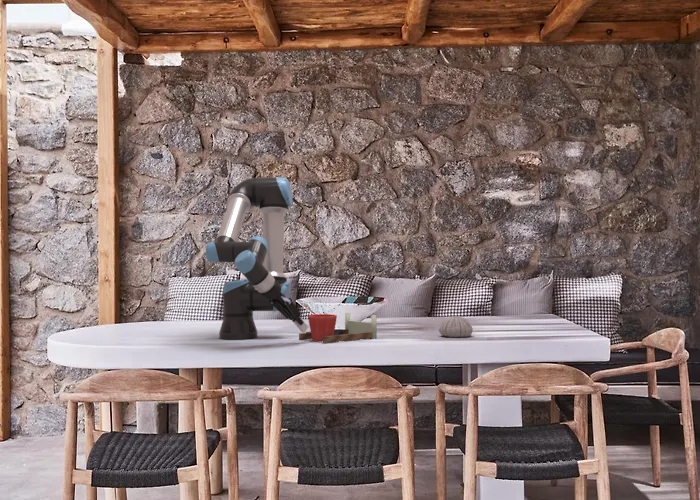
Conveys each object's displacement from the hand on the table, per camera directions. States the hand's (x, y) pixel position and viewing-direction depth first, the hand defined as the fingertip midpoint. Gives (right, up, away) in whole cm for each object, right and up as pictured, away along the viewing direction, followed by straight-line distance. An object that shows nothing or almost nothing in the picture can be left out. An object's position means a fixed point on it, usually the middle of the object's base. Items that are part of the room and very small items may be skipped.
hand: (305, 329), depth 296 cm
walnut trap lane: (+11, -5, +11) cm, 16 cm away
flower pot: (+6, -5, +6) cm, 10 cm away
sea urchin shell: (+58, -5, +16) cm, 61 cm away
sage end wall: (+21, -5, +18) cm, 28 cm away
